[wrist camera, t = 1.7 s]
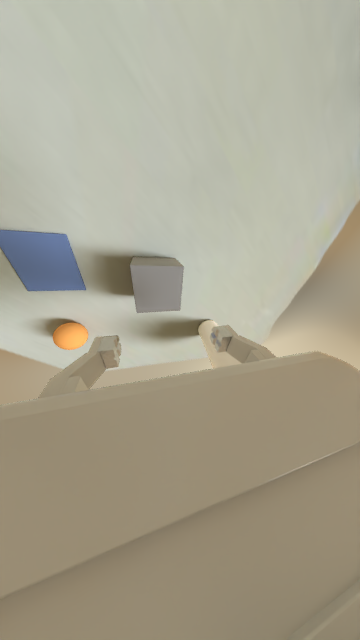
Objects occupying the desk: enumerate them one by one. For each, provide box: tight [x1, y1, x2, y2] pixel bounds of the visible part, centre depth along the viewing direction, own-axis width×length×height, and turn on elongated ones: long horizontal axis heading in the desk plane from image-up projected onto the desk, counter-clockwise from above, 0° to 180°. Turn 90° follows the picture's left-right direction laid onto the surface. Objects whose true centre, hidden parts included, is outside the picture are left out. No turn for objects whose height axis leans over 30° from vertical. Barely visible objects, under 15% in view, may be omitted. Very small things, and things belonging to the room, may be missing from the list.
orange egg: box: [53, 323, 88, 350], centre depth 24 cm, size 5×5×5 cm
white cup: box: [198, 320, 242, 368], centre depth 28 cm, size 7×7×15 cm
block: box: [130, 257, 184, 313], centre depth 21 cm, size 7×7×6 cm
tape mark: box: [0, 230, 86, 291], centre depth 19 cm, size 8×8×1 cm
